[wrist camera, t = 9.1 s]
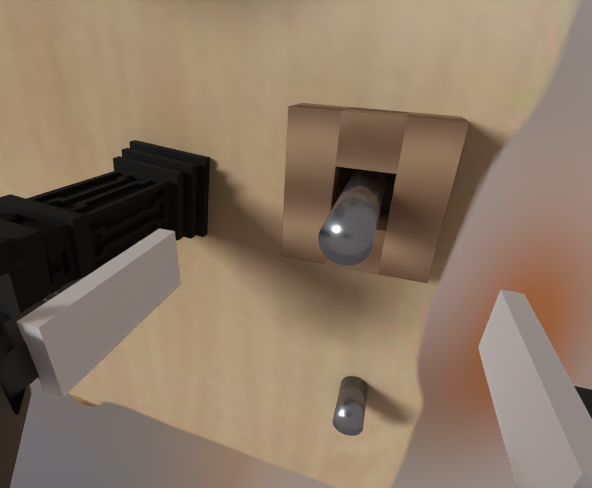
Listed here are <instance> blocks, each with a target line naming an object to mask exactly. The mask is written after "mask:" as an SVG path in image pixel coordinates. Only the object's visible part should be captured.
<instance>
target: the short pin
mask: <svg viewBox="0 0 592 488" xmlns="http://www.w3.org/2000/svg"><path fill="white" fill-rule="evenodd" d="M367 392H368V386H367V384H366V383H365V382H364V381H363V380H362V379H360V378H358V377H355V376H349V377H345V378H344V379H343V380H342V381H341V385H340V390H339V395H338V399H337V404H336V408H335V413H334V418H333V425H334V427H335V428H336V429H337V430H338V431H339V432H341V433H343V434H345V435H350V436H354V435H358V434H360V433H361V432H362V430H363V423H364V415H365V407H366V399H367Z"/></svg>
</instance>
